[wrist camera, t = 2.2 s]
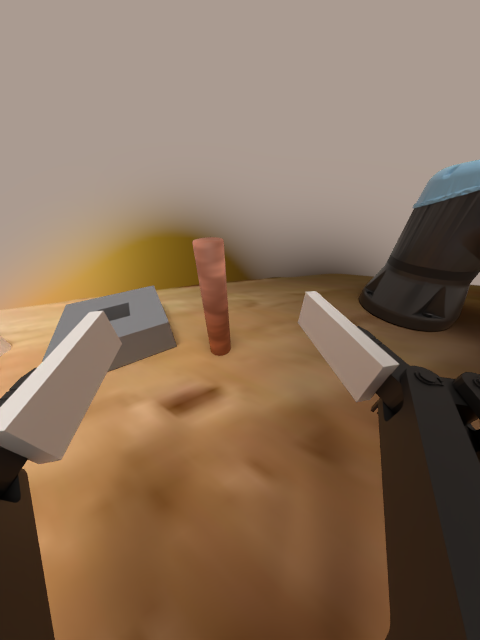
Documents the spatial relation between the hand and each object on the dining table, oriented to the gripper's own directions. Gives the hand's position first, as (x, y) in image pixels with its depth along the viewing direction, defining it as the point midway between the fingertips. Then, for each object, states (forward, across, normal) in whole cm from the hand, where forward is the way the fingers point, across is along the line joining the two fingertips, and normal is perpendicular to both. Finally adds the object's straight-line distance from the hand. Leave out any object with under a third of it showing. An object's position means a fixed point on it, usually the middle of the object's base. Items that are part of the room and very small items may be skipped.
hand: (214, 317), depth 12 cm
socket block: (+16, -16, -13) cm, 26 cm away
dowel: (+10, 0, -13) cm, 16 cm away
